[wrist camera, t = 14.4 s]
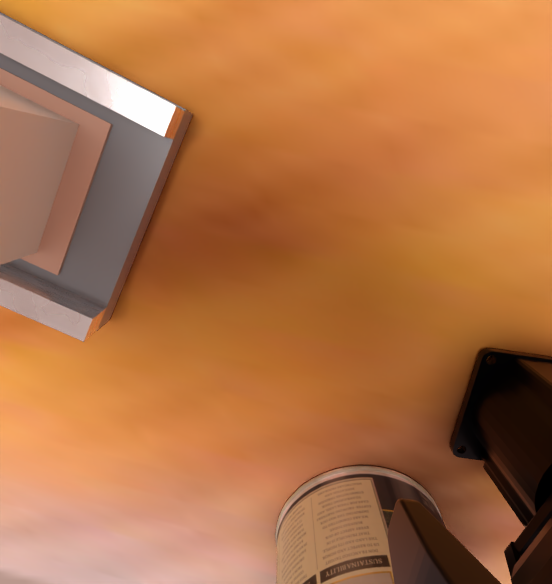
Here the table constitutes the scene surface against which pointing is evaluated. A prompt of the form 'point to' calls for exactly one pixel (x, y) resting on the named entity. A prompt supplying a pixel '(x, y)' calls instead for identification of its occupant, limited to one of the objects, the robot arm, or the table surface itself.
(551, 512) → the robot arm
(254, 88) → the table surface
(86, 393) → the table surface
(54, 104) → the display base
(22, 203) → the cream block
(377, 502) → the coffee can
